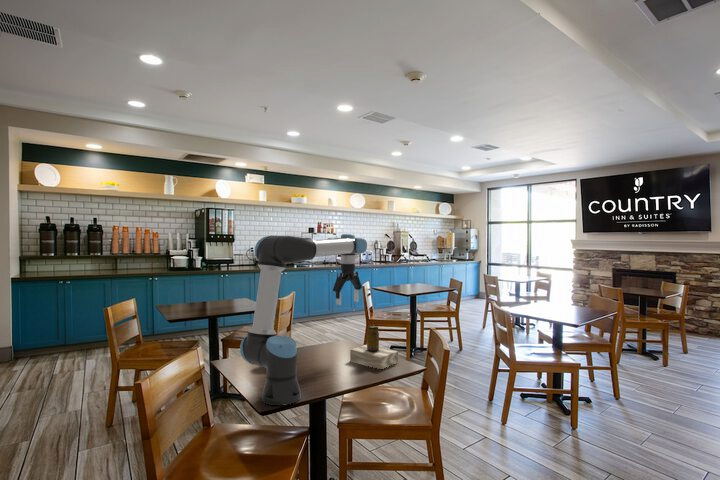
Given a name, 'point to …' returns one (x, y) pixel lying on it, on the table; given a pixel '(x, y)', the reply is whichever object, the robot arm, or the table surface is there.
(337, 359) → the table surface
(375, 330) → the condiment
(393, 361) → the block
